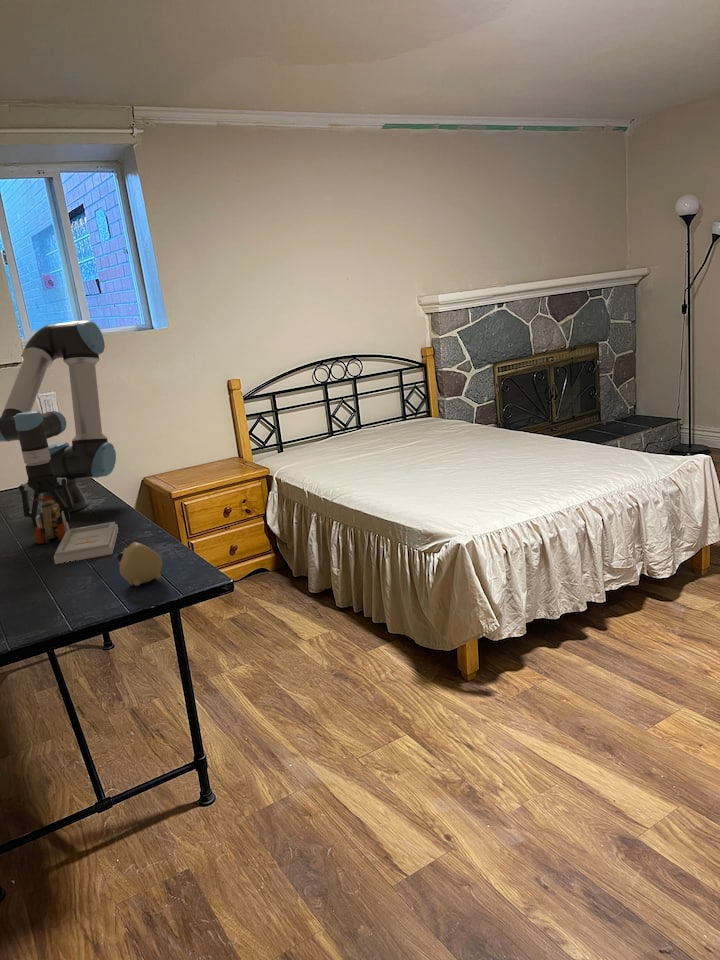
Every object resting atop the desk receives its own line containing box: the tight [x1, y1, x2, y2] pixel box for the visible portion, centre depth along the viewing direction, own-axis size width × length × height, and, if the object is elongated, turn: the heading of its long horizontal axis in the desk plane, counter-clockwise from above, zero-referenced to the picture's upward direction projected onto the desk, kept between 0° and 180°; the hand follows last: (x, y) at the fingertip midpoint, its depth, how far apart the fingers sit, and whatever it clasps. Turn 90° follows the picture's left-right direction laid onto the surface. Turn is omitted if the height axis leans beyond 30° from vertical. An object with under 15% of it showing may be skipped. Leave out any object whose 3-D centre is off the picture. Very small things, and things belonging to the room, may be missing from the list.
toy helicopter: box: [34, 496, 66, 545], centre depth 217 cm, size 8×21×14 cm, turn 17°
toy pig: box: [117, 541, 163, 587], centre depth 169 cm, size 10×12×11 cm
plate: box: [53, 521, 119, 565], centre depth 203 cm, size 23×15×3 cm, turn 15°
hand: (54, 534), depth 218 cm, fingers closed on toy helicopter, 7 cm apart
